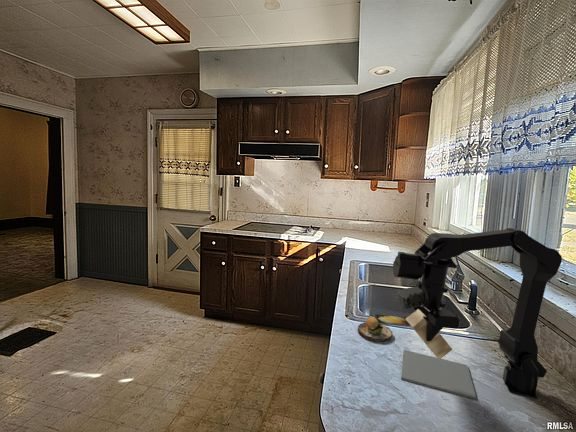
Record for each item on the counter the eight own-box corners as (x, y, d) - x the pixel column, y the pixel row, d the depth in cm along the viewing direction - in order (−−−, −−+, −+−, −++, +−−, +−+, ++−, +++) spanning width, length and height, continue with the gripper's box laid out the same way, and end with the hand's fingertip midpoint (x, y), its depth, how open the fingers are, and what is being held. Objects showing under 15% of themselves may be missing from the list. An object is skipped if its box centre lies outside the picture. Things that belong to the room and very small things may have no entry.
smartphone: (417, 326, 117) (376, 322, 118) (417, 328, 117) (376, 324, 118) (411, 317, 124) (373, 314, 125) (411, 319, 124) (373, 315, 125)
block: (443, 340, 88) (418, 308, 86) (452, 349, 83) (426, 316, 81) (430, 350, 88) (405, 318, 86) (439, 359, 83) (412, 327, 81)
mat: (467, 366, 93) (467, 364, 93) (475, 399, 79) (476, 397, 79) (403, 351, 100) (403, 349, 100) (401, 379, 86) (401, 377, 86)
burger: (393, 345, 104) (395, 324, 103) (357, 340, 106) (359, 319, 105) (389, 328, 115) (391, 309, 114) (357, 324, 117) (358, 305, 116)
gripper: (390, 267, 91) (382, 318, 93) (421, 293, 72) (411, 354, 75) (426, 270, 92) (418, 320, 94) (466, 296, 73) (455, 357, 76)
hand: (423, 336), depth 84 cm, fingers closed on block, 4 cm apart
